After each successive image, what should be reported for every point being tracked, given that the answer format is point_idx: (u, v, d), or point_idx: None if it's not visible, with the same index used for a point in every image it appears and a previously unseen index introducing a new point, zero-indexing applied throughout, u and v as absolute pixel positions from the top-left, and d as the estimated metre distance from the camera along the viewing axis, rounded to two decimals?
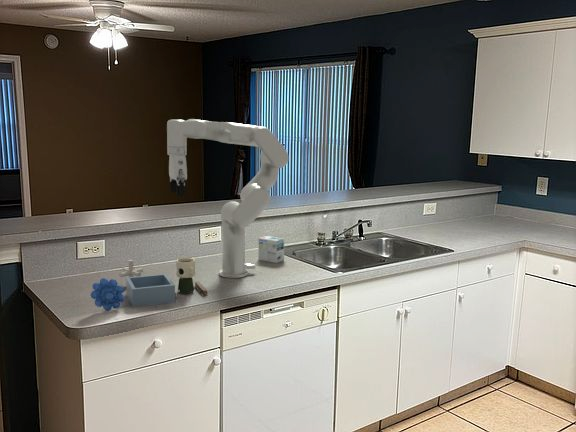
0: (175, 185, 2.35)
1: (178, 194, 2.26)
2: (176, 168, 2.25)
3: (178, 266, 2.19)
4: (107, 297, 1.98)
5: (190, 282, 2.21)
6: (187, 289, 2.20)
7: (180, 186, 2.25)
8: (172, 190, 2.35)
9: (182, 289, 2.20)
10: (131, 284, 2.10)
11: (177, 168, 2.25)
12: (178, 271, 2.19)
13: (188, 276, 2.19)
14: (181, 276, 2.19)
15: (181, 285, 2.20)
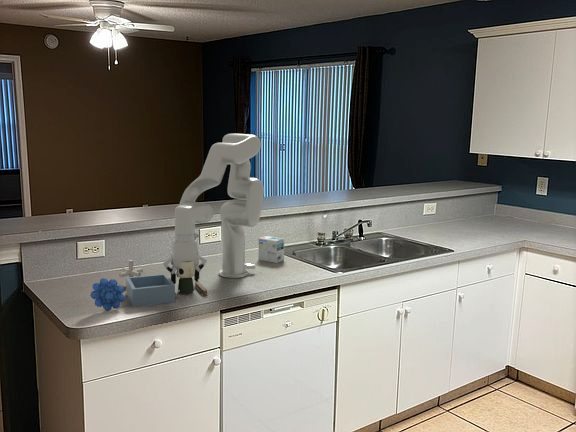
0: None
1: None
2: (198, 254, 2.21)
3: None
4: (107, 297, 1.98)
5: (190, 282, 2.21)
6: (187, 289, 2.20)
7: None
8: None
9: (182, 289, 2.20)
10: (131, 284, 2.10)
11: (198, 253, 2.21)
12: (178, 271, 2.19)
13: (188, 276, 2.19)
14: (181, 276, 2.19)
15: (181, 285, 2.20)
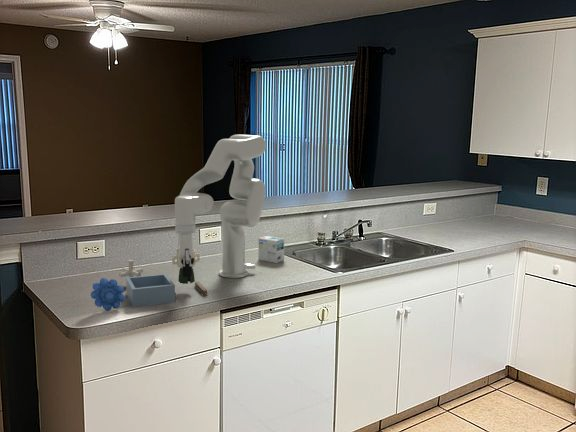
0: None
1: None
2: None
3: (190, 256, 2.18)
4: (107, 297, 1.98)
5: None
6: None
7: None
8: None
9: (192, 278, 2.21)
10: (131, 284, 2.10)
11: None
12: None
13: (194, 263, 2.23)
14: (193, 265, 2.20)
15: None
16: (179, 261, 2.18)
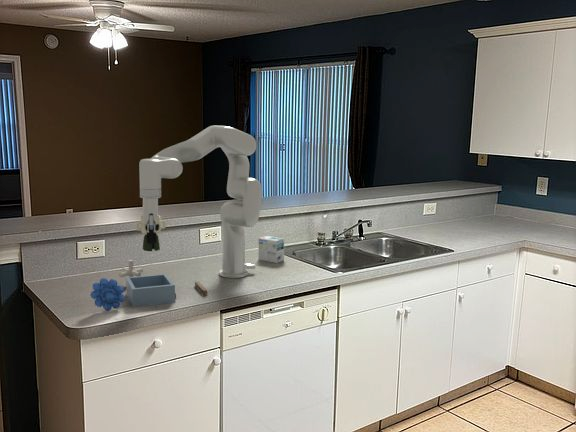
0: None
1: None
2: None
3: None
4: (107, 297, 1.98)
5: None
6: None
7: None
8: None
9: (157, 246, 2.11)
10: (131, 284, 2.10)
11: None
12: None
13: None
14: (158, 232, 2.10)
15: (156, 242, 2.11)
16: (143, 227, 2.08)
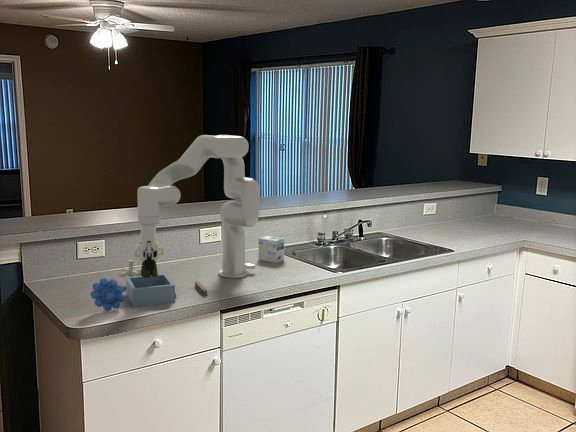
0: None
1: None
2: None
3: None
4: (107, 297, 1.98)
5: None
6: None
7: None
8: None
9: (155, 272, 2.13)
10: (131, 284, 2.10)
11: None
12: None
13: None
14: (156, 258, 2.11)
15: (154, 268, 2.12)
16: (141, 254, 2.10)
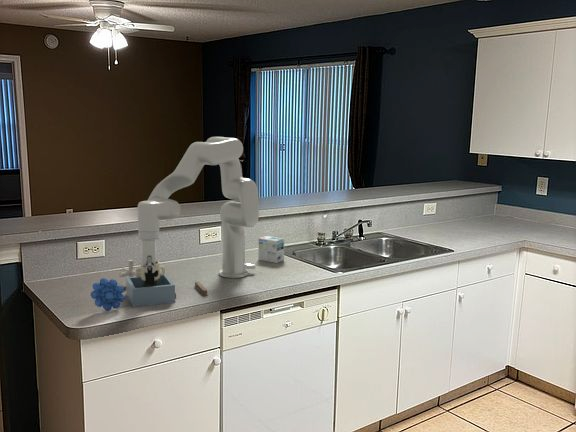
0: None
1: None
2: None
3: (154, 269, 2.11)
4: (107, 297, 1.98)
5: None
6: None
7: None
8: None
9: None
10: (131, 284, 2.10)
11: None
12: None
13: (159, 276, 2.16)
14: (157, 278, 2.13)
15: None
16: (142, 274, 2.12)
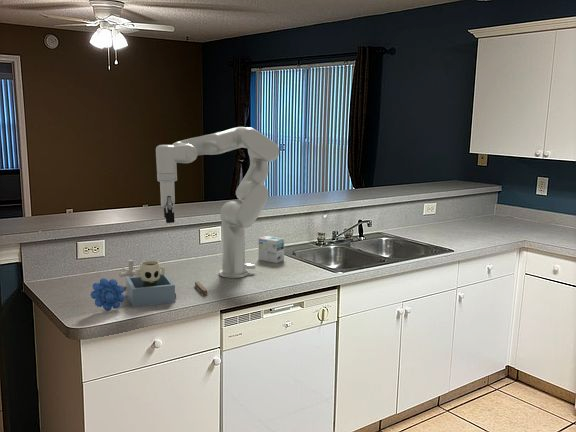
0: None
1: None
2: None
3: (154, 269, 2.11)
4: (107, 297, 1.98)
5: None
6: None
7: None
8: None
9: None
10: (131, 284, 2.10)
11: None
12: (153, 275, 2.12)
13: None
14: (157, 278, 2.13)
15: None
16: (142, 274, 2.11)
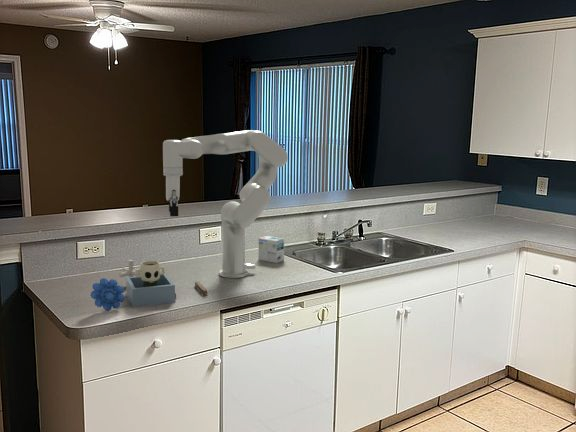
0: None
1: None
2: None
3: (154, 269, 2.11)
4: (107, 297, 1.98)
5: None
6: None
7: None
8: None
9: None
10: (131, 284, 2.10)
11: None
12: (153, 275, 2.12)
13: None
14: (157, 278, 2.13)
15: None
16: (142, 274, 2.11)
